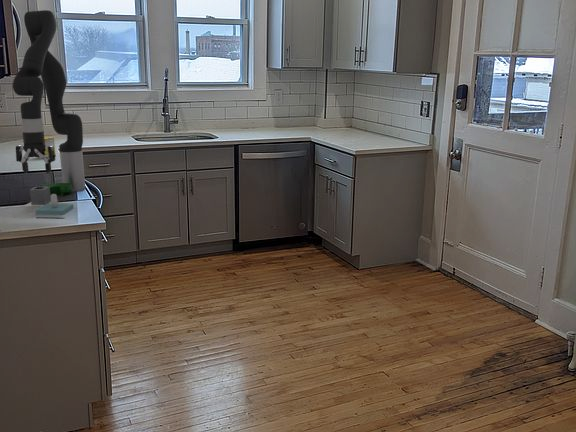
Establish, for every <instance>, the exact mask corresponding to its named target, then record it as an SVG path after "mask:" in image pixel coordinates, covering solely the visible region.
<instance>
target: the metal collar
mask: <svg viewBox="0 0 576 432" xmlns="http://www.w3.org/2000/svg"><path fill="white" fill-rule="evenodd" d="M29 195H30V202H31V205H46V204H48V203H49V202H51V196H50V187H42V186H34V187H32V188H30V189H29Z"/></svg>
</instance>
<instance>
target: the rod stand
mask: <svg viewBox="0 0 576 432" xmlns="http://www.w3.org/2000/svg"><path fill="white" fill-rule="evenodd" d="M59 201H60V200H58V199H57V202H59ZM48 204H51V202H49V203H48ZM42 206H44V205H31V201H30V202H28V203H26V204H24V205H23V207H39V208H41V207H42Z"/></svg>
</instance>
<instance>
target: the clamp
mask: <svg viewBox="0 0 576 432" xmlns="http://www.w3.org/2000/svg"><path fill="white" fill-rule="evenodd" d="M41 187H50V197H51V195H52V194H56V195H60V196H61V197H63V196H64V195H65V194H73V191H72V187H71V183H63V182H55V183H53V182H52V183H51V182H50V183H42V185H41Z"/></svg>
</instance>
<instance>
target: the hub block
mask: <svg viewBox="0 0 576 432" xmlns="http://www.w3.org/2000/svg"><path fill="white" fill-rule="evenodd" d="M57 195H58V194H52V195H51V196H50V197H51V204H46V205H44V206H42V207H39V208H37V209H36V210H35V215H41V216H37V217H35V218H36V219H46V220H47V219H49V220H50V219H51V220H52V219H53V220H55V219H57V220H59V219H60V220H63V219H65V217H48V216H51V215H52V216H53V215H54V216H64V215H65V214H67V213H68V212H70V211H72V210H73V209H74V208H75V207H74V203H58V201H57V200H58V196H57ZM42 215H43V216H44V217H43V216H42ZM45 215H46V216H47V217H46V216H45Z"/></svg>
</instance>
